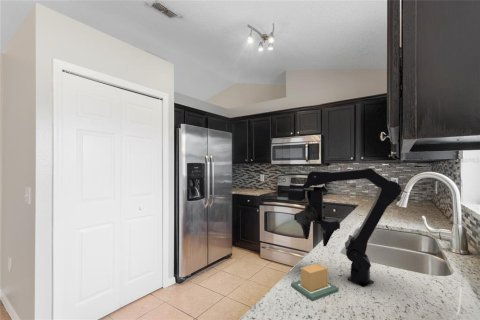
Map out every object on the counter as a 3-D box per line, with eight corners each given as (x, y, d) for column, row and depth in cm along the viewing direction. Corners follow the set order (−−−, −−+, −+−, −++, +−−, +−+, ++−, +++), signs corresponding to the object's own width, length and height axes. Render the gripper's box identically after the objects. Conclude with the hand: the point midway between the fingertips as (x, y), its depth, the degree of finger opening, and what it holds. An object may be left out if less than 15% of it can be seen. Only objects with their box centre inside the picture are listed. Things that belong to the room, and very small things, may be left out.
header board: (315, 278, 86) (315, 267, 87) (338, 291, 78) (338, 279, 78) (291, 286, 81) (291, 274, 81) (312, 301, 72) (312, 288, 72)
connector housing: (317, 280, 83) (317, 263, 83) (327, 285, 79) (327, 268, 79) (300, 285, 79) (300, 267, 79) (310, 291, 75) (310, 273, 76)
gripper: (284, 200, 95) (284, 238, 95) (319, 208, 79) (319, 254, 79) (304, 199, 101) (304, 235, 100) (340, 205, 84) (341, 248, 84)
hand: (315, 242), depth 91 cm, fingers open, 9 cm apart
